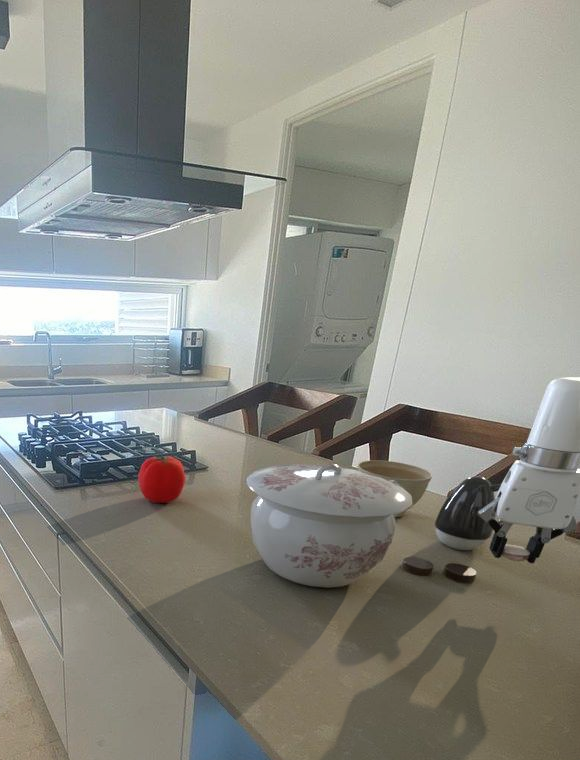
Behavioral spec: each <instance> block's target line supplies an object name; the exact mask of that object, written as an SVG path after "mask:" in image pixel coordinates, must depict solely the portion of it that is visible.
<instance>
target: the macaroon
mask: <svg viewBox="0 0 580 760" xmlns="http://www.w3.org/2000/svg"><path fill="white" fill-rule="evenodd" d="M528 555H530V552H529V551H528V550H527V549H526V547H524V546H520V545H515V544H506V545H505V547H504V550H503V553H502V555H501V557H504V558H505V559H507V560H509V561H512V562H517V563H519V562H525V561H527V560H526V559H528V558H529V557H528Z"/></svg>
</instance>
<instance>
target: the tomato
mask: <svg viewBox="0 0 580 760" xmlns="http://www.w3.org/2000/svg"><path fill="white" fill-rule="evenodd" d="M151 456H152V457H148V458H147V459H145V460H144V461H143V463H141V465H140V468H139V472H138V475H137V476H138V477H137V479H138V481H137V482H138V486H139V487H138V488H139V489H140V492H141V494H142V496H143V497H144V498H145V499H146V500H148V501H149V502H152V503H156V504H168V503H169V504H170V503H171V502H173V501H175V500H177V499H178V498H179V497H180V495H181V494H182V492H183V489H184V487H185V484H186V478H187V477H186V475H185V470H184V465H183V464H182V462H181V460H179V459H177V458H175V457H173V456H170V455H166V456H164V455H161V457H160V456H155V455H153V454H151Z"/></svg>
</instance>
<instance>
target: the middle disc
mask: <svg viewBox="0 0 580 760" xmlns="http://www.w3.org/2000/svg"><path fill="white" fill-rule="evenodd" d="M442 573H443V575H444V576H445V577H446V578H448V579H449V580H452V581H455V582H458V583H464V584H469V583H473V582H474V581H475V579H476V577H477V570H475V569H474V568H472V567H470V566H468V565H465V564H462V563H455V562H451V563H450V562H449V563H446V564H445V565H444V568H443V571H442Z"/></svg>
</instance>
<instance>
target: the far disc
mask: <svg viewBox="0 0 580 760" xmlns="http://www.w3.org/2000/svg"><path fill="white" fill-rule="evenodd" d="M401 568H402V569H403V570H404V571H406V572H407V573H409V574H413V575H415V576H416V575H417V576H422V577H424V576H425V577H427V576H430V575H431V574H432V572H433V569H434V564H433V563H432V562H431V561H430V560H427V559H424V558H423V557H422V558H421V557H417V556H407V557H405V558H403V561H402V565H401Z"/></svg>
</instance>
